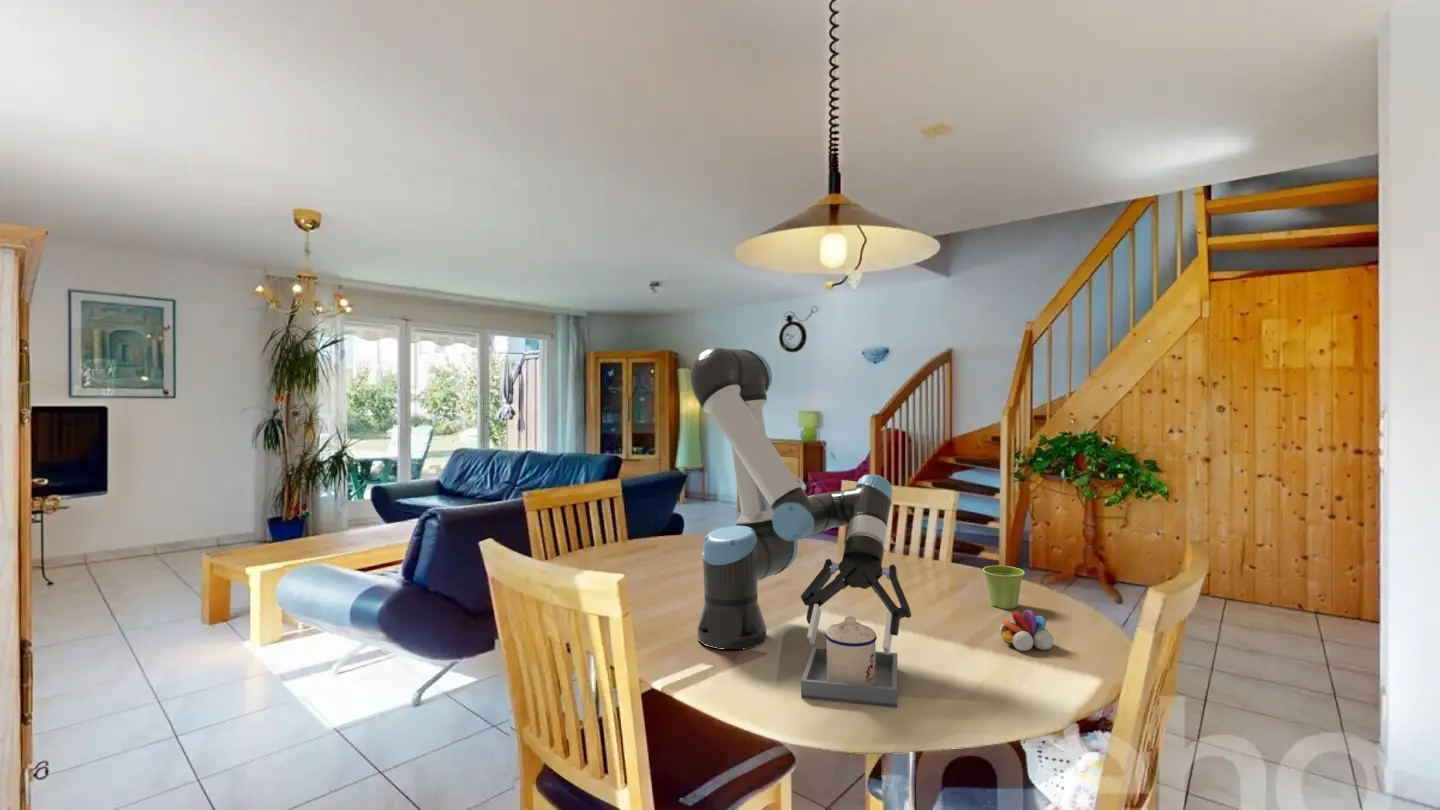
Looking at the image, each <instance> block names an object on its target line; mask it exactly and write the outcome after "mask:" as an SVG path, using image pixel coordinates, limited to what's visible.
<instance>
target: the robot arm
mask: <svg viewBox="0 0 1440 810" xmlns="http://www.w3.org/2000/svg"><path fill="white" fill-rule="evenodd" d="M772 373H773V372H772V369H771V366H770V364H769V362H768V361H767V360H766V358H765V357H764V356H762V355H761V354H759V353H758V352H755V351H752V350H748V349H745V348H744V349H743V348H742V349H735V348H724V347H711V348H708V349H706V350H703V351H702V352H701V353H699V354H698V355H697V356H696V358H695V359H694V360H693V363H692V365H691V368H690V373H689V375H690V376H689V379H690V380H689V381H690V386H691V389H692V392H693V394H694V397H695V399H696V400H697V403H698V404H699V405H700V407H701V408H702V410H703V412H705V413H706V414H711V416H712V417H713V418H714V421H715V422H716V424H717V425H718V426H719V428H720V430H721V431H722V433H723V434H724V436H725V438H726V439H727V440H728V442H729V444H730V445H731V453H732V458H733V467H734V471H735V479H736V485H737V493H738V500H739V506H740V515H739V517H738V518H737V520H736V521H735V522H736V523H735V524H736V525H729V526H727V527H719V528H716V529H713V530H712V531H710V532H708V533H707V534H706V535H705V537H704V539H703V548H702V549H703V550H702V559H703V580H704V581H703V583H704V584H703V586H704V587H703V589H704V590H703V591H704V604H703V608H702V611H701V614H700V618H699V621H698V625H697V631H696V632H697V633H696V634H697V640H698V639H699V640H700V641H701V642H703V643H704V644H707V645H709V646H713V647H717V648H724V649H742V650H744V649H743V648H748V649H752V648H755V647H758V646H760V645H762V644H764V642H765V641H767V635H768V634H767V625H766V622H765V619H764V617H763V613H762V610H761V607H760V605H759V601H758V600H759V599H758V582H759V581H761V580H764V579H767V578H769V577H771V576H776V575H779V574H780V573H782V572H784V571H785V570H786V569H788V568H789V567H790V566H792V565H793V563H794V561H795V560H796V557H797V554H798V551H799V550H798V549H799V542H798V541H799V540H800V541H801V540H804V539H807V538H809V537H811V536H813V535H815V534H818V533H822V532H826V531H828V530H830V529H833V528H839V527H845V526H848V528H847V534H846V540H845V544H844V550H843V554H842V559H841V561H840V562H839V563H838V562H833V560H832V559H830V558H827V559H825V562H824V564H823V567H822V569H821V570H820V572H819V573H818V574H817V575H816V576H815V577H814V579H812V581H811V582H810V583H809V585H808V586H807V588H806V589H805V590H804V591H803V592H802V594H801V595H800V599H801V600H802V602H803V605H805V606H808V609H807V613H806V618H805V619H806V622H807V623H808V625H809V627H808V629H807V634H806V635H807V636H806V637H807V639H808V641H809V642H810V644H814V645H815V643H816V638H817V635H818V634H817V633H818V629H819V624H820V618H821V615H822V609H821V608H820V607H821V606H823V605H824V604H825V603H827V602H828V601H829V600H830V599H832V598H833V597H834V596H835V595H837V594H838V593H839V592H840V591H841V590H844V589H846V588H847V587H848V586H849V587H850V588H853V589H856V588H859V589H860V588H861V589H863V590H867V589H868V588H870V587H871V588H872V590H873V591H874V593H876V595H877V596H878V598H879V599H880V601H881V602H882V603H883V604H884V606H885V608H886V609H887V610H888V611H889V612H887V614H886V620H885V621H886V622H885V627H884V636H883V643H882V649H883V652H885V654H887V655H890V653H891V646H892V641H893V640H892V638H893V636H898V634H899V631H900V630H899V629H900V622H901V620H902V618H907V619H909V618H911V617H912V612H911V609H910V608H911V607H910V606H909V602H908V600H907V598H906V596H905V593H904V592H903V589H902V586H901V584H900V581H899V578H898V577H899V576H898V575H899V573H898V570H897V566H896V565H895V564H890V565H889V567H886V566H885V567H883V566H882V564H883V558H884V551H885V549H884V547H885V544H886V538H887V531H888V522H889V516H890V512H891V511H890V510H891V506H892V494H893V488H892V484H891V483H890V482H889V480H887V479H886V478H885V477H883V476H882V475H878V474H869V473H868V474H865V475H862V476H861V477H860V478H859V479H858V481H857V482H856V484H855V488H851V489H845V490H839V491H831V492H824V493H821V492H820V493H816V494H812V495H809V496H808V495H807V494H806V492H805V491H804V490H803V488H802V486H801V485H800V483H799V481H797V479H796V477H795V476H794V474H793V473H792V471H791V470H790V469H789V466H788V465H787V463H786V462H785V460H784V459H783V458H782V456H781V455H780V453H779V451H778V450H777V449H776V447H775V446H774V444H773V442H772V441H771V440H770V437H768V435H767V433H766V427H765V420H764V413H763V408H764V406H765V405H766V404H767V402H768V397H767V393H768V391H769V389H770V386H772V382H773V374H772ZM837 571H839V573H838V574H837V575H836V576H835V578H834V579H833V580H831V581H830V582H829V580H830V579H831V578H832V575H835V573H836V572H837ZM883 575H884V576H885V577H886V579H887V580H889V581H890V583H891V585H892V588H893V591H894V593H895V596H896V597H897V600H898V602H899V604H900V607H899V606H897V605H896V603H895V602H894V600H893V599H892V598H891V596H890V595H889V594H888V592H887V591H886V590H885V588H884V587H883V585H881V583H880V582H879V579H881V578H882V577H883ZM828 582H829V583H828ZM827 583H828V584H827ZM826 584H827V585H826ZM751 647H752V648H751Z"/></svg>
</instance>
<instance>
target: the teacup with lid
mask: <svg viewBox="0 0 1440 810" xmlns="http://www.w3.org/2000/svg"><path fill="white" fill-rule="evenodd" d="M824 637H825V639H826V647H827V680H828V681H829V682H840V683H851V684H861V685H872V686H875V685H876V641H877V639H878V636H877V633H876V631H875V630H874V629H872V627H869V626H867V625H864V624H862V623H860V622H858V621H857V619H856V617H855V616H845V618H844V621H840V622H839V623H836V624H833V625H830V626H828V627H827V628H826V630H825V633H824Z"/></svg>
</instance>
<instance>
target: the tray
mask: <svg viewBox="0 0 1440 810" xmlns="http://www.w3.org/2000/svg"><path fill="white" fill-rule="evenodd" d="M898 663H899V662H898V652H890V655H887V654H885V652H884V651H876V685H875V686H872V685H861V684H851V683H840V682H829V681H828V680H827V646H826V647H825V646H812V649H811V651H810V654H809V657H808V660H807V663H806V664H805V668H804V671H803V675H802V676H801V679H800V695H801V697H800V698H801V699H805V698H807V700H816V701H827V702H835V703H836V702H837V703H846V704H854V705H864V706H875V707H885V708H894V709H895V708H896V709H898V682H899V681H898V680H899V679H898V676H899V675H898V673H899V671H898V670H899V668H898V667H899V666H898Z"/></svg>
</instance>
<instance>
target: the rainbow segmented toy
mask: <svg viewBox="0 0 1440 810" xmlns="http://www.w3.org/2000/svg"><path fill="white" fill-rule="evenodd" d="M1012 618H1013V619H1012V620H1013V622H1012V621H1009V620H1006V619H1005V620H1003V621H1002V624H1001V625H1000V628H999V634H1000V636H1001V639H1002V640H1003V641H1004V642H1005V643H1008V644H1012V645H1013V646H1014V648H1015V649H1016V650H1018V651H1020V652H1028V651H1030V650H1032V648H1033V646H1035V647H1036V648H1037V649H1038V650H1040V649H1041V650H1040V651H1047V650H1050V649H1051V648H1052V647H1053V645H1054V640H1055V639H1054V637H1053V635H1052V634H1051V632H1050V631H1049V630H1048V629H1046V625H1047V621H1046V619H1045V618H1044V617H1043V616H1042V615H1035V612H1033V611H1032V609H1031V610H1030V609H1026V610H1024V611H1023V612H1022V614H1021V613H1020V612H1018V611H1012Z"/></svg>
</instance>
